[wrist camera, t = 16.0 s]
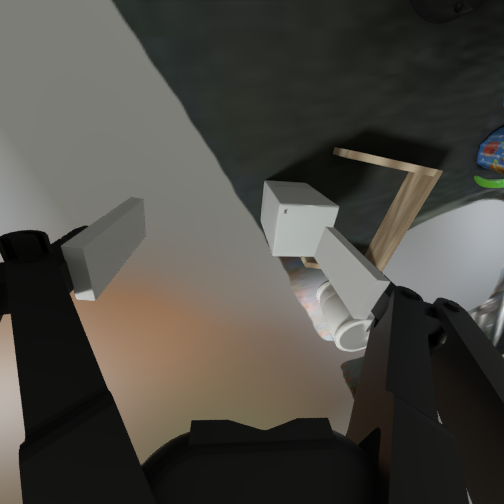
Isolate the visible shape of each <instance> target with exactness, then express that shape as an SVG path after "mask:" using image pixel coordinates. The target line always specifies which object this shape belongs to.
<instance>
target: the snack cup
mask: <svg viewBox="0 0 504 504" xmlns="http://www.w3.org/2000/svg"><path fill="white" fill-rule="evenodd" d="M477 163H478V164H479V165H480V166H482V167H483V168H486V169H488V170H491V171H495V172H498V173H501V174H504V127H502V128H499V129H498V130H497V131H495V132H493V133H492V134H491V135H490V136H489V137H488V138H487V139H486V140H485V141H484V142H483V143H482V144H481V145H480V149H479V152H478V158H477ZM474 179H475V181H476V183H477V184H479V185H480V186H482V187H488V188H502V187H504V179H495V180H488V179H485V178H483V177H480V176H477V175H475V176H474Z"/></svg>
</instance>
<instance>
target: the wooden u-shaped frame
mask: <svg viewBox="0 0 504 504" xmlns="http://www.w3.org/2000/svg"><path fill="white" fill-rule="evenodd" d="M333 154H334V155H338V156H342V157H346V158H350V159H355V160H359V161H364V162H368V163H373V164H378V165H382V166H387V167H391V168H396V169H401V170H405V171H409V173H408V175H407V176H406V178H405V180H404V182H403V184H402V186H401V188H400V190H399V191H398V193H397V195H396V197H395V199H394V201H393V203H392V205H391V207H390V208H389V210H388V212H387V214H386V216H385V218H384V220H383V222H382V224H381V225H380V227H379V229H378V231H377V233H376V235H375V237H374V239H373V240H372V242H371V244H370V246H369V248H368V250H367V252H366V254H365V256H364V257H365V258H366V259H368V260H369V261H370V262H371V263H372V264H373V265H375V266H376V267H377V268H378V269H379V271H381V272H382V271H383V269H384V268H385V266H386V265H387V263H388V261H389V259H390V258H391V256H392V255H393V253H394V251H395V249H396V248H397V246H398V245H399V243H400V241H401V240H402V238H403V236H404V235H405V233H406V231H407V230H408V228H409V227H410V225H411V223H412V222H413V220H414V218H415V217H416V215H417V213H418V212H419V210H420V208H421V207H422V205H423V203H424V202H425V200H426V198H427V197H428V195H429V194H430V192H431V190H432V189H433V187H434V185H435V184H436V182H437V180H438V179H439V177H440V175H441V174H442V172H443V171H441V170H436V169H432V168H427V167H423V166H419V165H414V164H410V163H405V162H401V161H396V160H392V159H387V158H383V157H379V156H374V155H370V154H365V153H361V152H356V151H352V150H347V149H341V148H336V147H335V148H334V151H333ZM300 258H301V260H302V261H303V263H304V265H305V267H309V268H318V269H321V267H320V266H319V264H318V263H317V261H316V260H315V258H314V257H303V256H300Z"/></svg>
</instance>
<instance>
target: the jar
mask: <svg viewBox="0 0 504 504" xmlns="http://www.w3.org/2000/svg"><path fill="white" fill-rule="evenodd" d="M317 299H318V300H319V301H320V308H321V311H322V315H323V319H324V321H325V324H326V326H327V328H328V329H329V331H330V332H331V334H332V335H333V336H334V341H335V344H336V346H337V347H338V348H339V349H340V350H343V351H349V352H350V351H358V350H361V349H364V348H366V346H367V342H368V337H369V333H370V331H368V332H366V330H367V328H368V327H369V326H370V324H371V323H372V321H373V320H374V319H373V317H372V315H371V313H370V314H369V316H368V317H367V319H366V320H362V319H354V318H353V317H352V315H351V314H350V312H349V311H348V309H347V307H346V306H345V304H344V303H343V301H342V300H341V298H340V297H339V295H338V294H337V292H336V291H335V289H334V287H333V286H332V284H331V283H330V281H328V282H326V283H324V284H323V285H321V286H320V287H319V289H318V291H317Z"/></svg>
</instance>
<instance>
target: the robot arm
mask: <svg viewBox="0 0 504 504" xmlns="http://www.w3.org/2000/svg"><path fill="white" fill-rule="evenodd" d="M486 1H487V0H411V3H412V5H413V7H414V9H415V10H416V12H417V13H418V14H419V15H420V16H421V17H422V18H423V19H425V20H427V21H429V22H432V23H446V22H450V21H453V20H455V19H457V18H459V17H461V16H463V15H466V14H468V13H470V12H471V11H473V10H475V9H476V8H478V7H479V6H481V5H482V4H483V3H485V2H486ZM503 103H504V99H503ZM145 236H146V232H145V217H144V201H143V199H140V198H133V197H130V198H129V199H128V200H126V201H125V202H123V203H122V204H120V205H119V206H118V207H116V208H115V209H113V210H112V211H110V212H109V213H107V214H106V215H105V216H103V217H102V218H100V219H99V220H97V221H96V222H94V223H93V224H92V225H90V226H82V227H79V228H76V229H74V230H72V231H71V232H69V233H68V234H67V235H65V236H63V237H62V238H61V239H58V240H57V241H55V242H54V243H52V244H50V241H49V238H48V235H47V234H46V233H45V232H42V231H37V230H24V231H16V232H11V233H8V234H4V235H2V236H0V253H1V255H2V258H3V260H4V262H1V263H0V321H1V319H2V316H3V315H4V314H11V320H12V328H13V335H14V345H15V353H16V361H17V369H18V377H19V386H20V394H21V402H22V410H23V419H24V427H25V441H24V442H23V443H22V444H21V445H20V449H19V468H20V479H21V489H22V500H23V504H469V500H468V495H467V491H468V493H469V496H470V499H471V501H472V504H504V358H503V357H502V355H501V354H500V353H499V352H498V350H497V349H496V348H495V346H494V345H493V344H492V343H491V341H490V340H489V339H488V338H487V336H486V335H485V334H484V333H483V331H482V330H481V329H480V328H479V326H478V325H477V324H476V323H475V321H474V320H473V319H472V318H471V316H470V315H469V314H468V312H467V311H466V310H465V309H463V308H462V307H461V306H459V304H457V303H455V302H454V301H451V300H448V299H445V298H437V299H436V301H435V302H434V303H433V304H430V303H427V302H424V301H423V299H422V297H421V296H420V295H418V294H417V293H416V292H414V291H412V290H411V289H409V288H406V287H402V286H396V285H394V284H393V283H392V282H391V281H390V280H389V279H388V278H387V277H386V276H385V275H383V273H382V272H381V271H379V269H378V268H377V267H376V266H375V265H373V264H372V263H371V262H370V261H369V260H368V259H366V258H365V257H364V256H363V255H362V254H361V253H360V252H359V251H358V250H357V249H356V248H355V247H354V246H353V245H352V244H351V243H350V242H349V241H348V240H347V239H346V238H345V237H343V236H342V235H341V234H340V233H339V232H338V231H337V230H336V229H335V228H332V227H325V229H324V231H323V234H322V237H321V239H320V242H319V244H318V247H317V249H316V252H315V254H314V258H315V260H316V261H317V263H318V264H319V266H320V267H321V269H322V271H323V272H324V274H325V275H326V277H327V278H328V280H329V281H330V283H331V284H332V286H333V287H334V289H335V291H336V292H337V294H338V295H339V297H340V298H341V300H342V301H343V303H344V304H345V306H346V307H347V309H348V311H349V312H350V314H351V315H352V317H353V318H354V319H362V320H366V319H367V317H368V316H369V314H370V313H371V312H372V313H373V314H374V316H375V318H374V320H373V321H372V323H371V324H370V326H369V327H368V328H367V330H366V332H368V331H370V333H369V337H368V342H367V346H366V351H365V355H364V360H363V364H362V369H361V373H360V378H359V382H358V387H357V391H356V396H355V400H354V405H353V409H352V414H351V418H350V423H349V427H348V431H347V433H346V436H344V435H342V434H340V433H338V432H336V431H334V430H332V428H331V425H330V423H329V420H328V418H297V419H294V420H292V421H289V422H287V423H284V424H282V425H279V426H276V427H274V428H271V429H269V430H260V429H257V428H254V427H250V426H247V425H243V424H240V423H237V422H234V421H230V420H192V421H191V428H190V432H187V433H185V434H182V435H180V436H178V437H176V438H174V439H172V440H170V441H169V442H167V443H166V444H164V445H163V446H161V447H160V448H159V449H158V450H156V451H155V452H154V453H153V454H152V455H151V456H150V457H149V458H148V459H147V460H146V461H145V462H144V463H143V464H142V465H140V463H139V460H138V457H137V455H136V452H135V450H134V448H133V445H132V443H131V440H130V438H129V435H128V433H127V430H126V428H125V426H124V423H123V421H122V418H121V416H120V413H119V411H118V409H117V406H116V403H115V401H114V399H113V396H112V394H111V392H110V391H109V390H108V388H107V386H106V383H105V381H104V378H103V376H102V373H101V371H100V368H99V366H98V363H97V361H96V358H95V356H94V353H93V351H92V348H91V346H90V343H89V341H88V338H87V336H86V333H85V331H84V328H83V326H82V324H81V321H80V318H79V316H78V313H77V311H76V308H75V306H74V303H73V301H72V298H71V296H70V292H71V291H72V290H73V289H74V293H75V296H76V299H78V300H79V299H80V300H92V301H95V300H96V299H97V298H98V297H99V295H100V294H101V293H102V291H103V290H104V289H105V288H106V286H107V285H108V284H109V283H110V281H111V280H112V279H113V277H114V276H115V275H116V273H117V272H118V271H119V270H120V268H121V267H122V266H123V265H124V263H125V262H126V261H127V260H128V258H129V257H130V256H131V254H132V253H133V251H134V250H135V249H136V248H137V247H138V245H139V244H140V243H141V241H142V240H143V239H144V237H145ZM445 339H446V341H445V343H444V344H442V342H443V341H444V340H445ZM437 411H438V413H439V416H440V419H441V421H442V424H443V425H442V424H441V423H439V421H438V415H437V414H438V413H437ZM466 488H467V490H466Z"/></svg>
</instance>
